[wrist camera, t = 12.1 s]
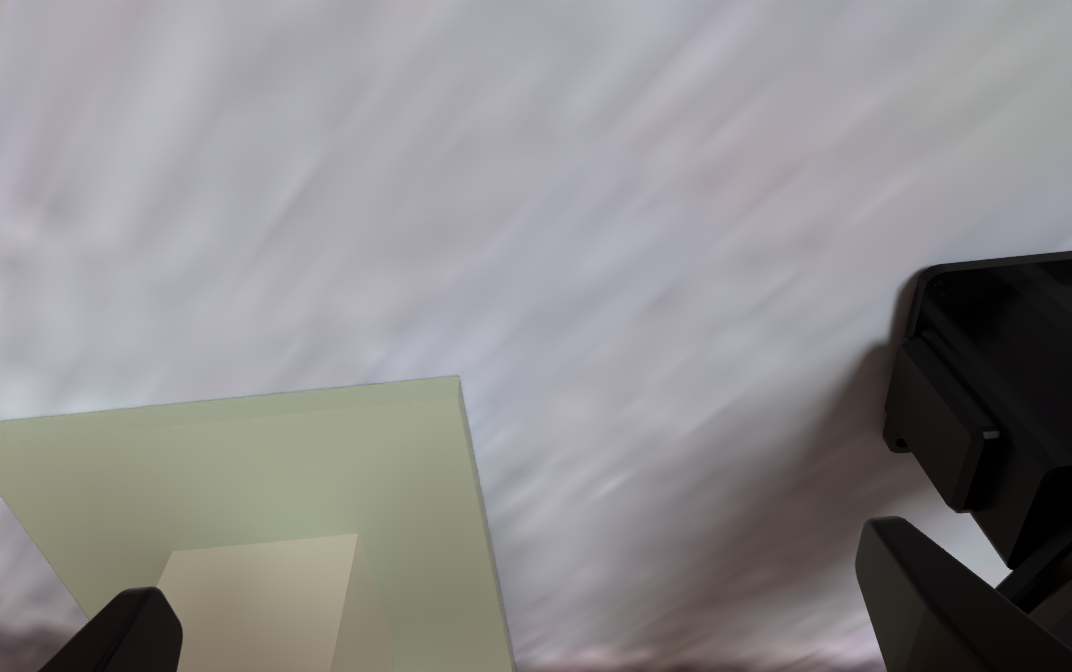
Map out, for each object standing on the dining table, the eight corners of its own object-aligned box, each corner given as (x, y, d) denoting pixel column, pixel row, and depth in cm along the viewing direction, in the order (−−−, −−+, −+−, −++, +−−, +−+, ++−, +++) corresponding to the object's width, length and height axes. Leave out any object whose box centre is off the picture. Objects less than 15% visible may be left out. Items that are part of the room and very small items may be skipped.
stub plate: (458, 375, 21) (452, 460, 19) (518, 683, 30) (520, 772, 28) (-15, 422, 22) (-94, 513, 19) (183, 713, 31) (150, 805, 28)
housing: (358, 533, 24) (327, 682, 19) (396, 644, 27) (377, 791, 23) (172, 551, 24) (103, 703, 20) (233, 659, 27) (185, 808, 23)
